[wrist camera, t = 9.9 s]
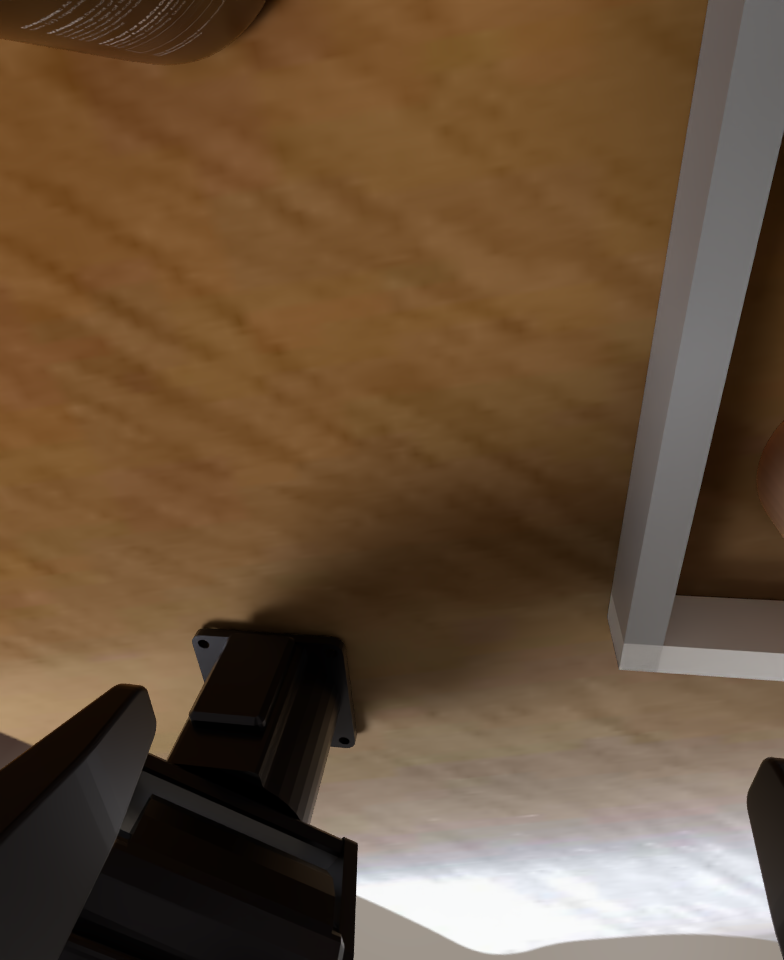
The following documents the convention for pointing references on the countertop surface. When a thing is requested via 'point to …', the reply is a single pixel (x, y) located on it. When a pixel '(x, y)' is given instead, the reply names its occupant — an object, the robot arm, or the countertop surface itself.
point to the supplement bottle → (130, 26)
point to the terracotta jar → (773, 478)
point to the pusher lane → (702, 359)
